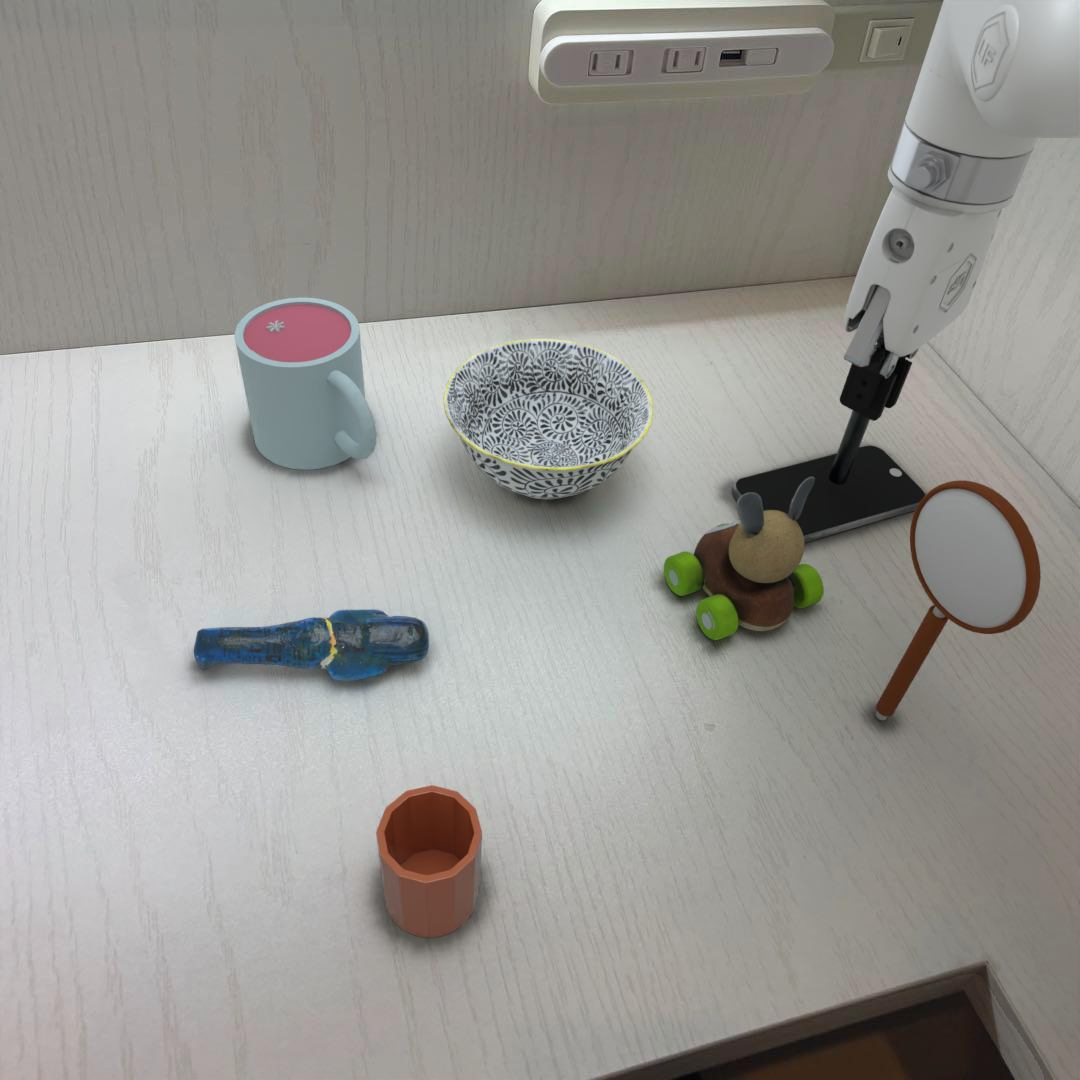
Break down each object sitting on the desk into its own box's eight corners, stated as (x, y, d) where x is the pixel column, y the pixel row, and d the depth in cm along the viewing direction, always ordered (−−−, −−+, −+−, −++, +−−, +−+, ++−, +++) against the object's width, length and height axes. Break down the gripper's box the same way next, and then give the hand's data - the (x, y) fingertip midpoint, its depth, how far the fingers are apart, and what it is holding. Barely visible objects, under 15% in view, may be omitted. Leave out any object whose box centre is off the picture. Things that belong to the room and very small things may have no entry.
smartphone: (934, 499, 79) (779, 544, 74) (931, 506, 79) (777, 551, 74) (876, 441, 83) (727, 480, 78) (873, 447, 84) (725, 486, 79)
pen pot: (497, 891, 55) (501, 832, 49) (428, 958, 52) (425, 903, 47) (435, 830, 57) (433, 768, 52) (365, 890, 54) (356, 831, 49)
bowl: (426, 527, 74) (424, 452, 69) (462, 399, 85) (463, 326, 80) (635, 553, 73) (649, 480, 68) (643, 421, 84) (656, 350, 79)
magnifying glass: (831, 671, 67) (935, 452, 52) (852, 664, 67) (960, 445, 53) (910, 775, 61) (1050, 563, 47) (932, 767, 62) (1077, 554, 48)
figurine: (197, 693, 63) (428, 687, 65) (185, 676, 60) (430, 669, 62) (202, 624, 65) (427, 621, 67) (192, 604, 62) (428, 600, 64)
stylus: (849, 479, 77) (903, 341, 68) (840, 487, 76) (893, 348, 67) (834, 470, 78) (885, 332, 69) (824, 478, 77) (874, 340, 68)
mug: (233, 426, 81) (211, 324, 73) (327, 385, 85) (316, 284, 78) (326, 517, 74) (312, 415, 67) (423, 467, 79) (420, 366, 71)
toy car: (754, 536, 75) (790, 425, 67) (824, 616, 70) (872, 506, 62) (654, 570, 72) (679, 458, 64) (720, 657, 67) (756, 547, 59)
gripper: (955, 225, 53) (856, 477, 66) (1068, 148, 61) (960, 385, 74) (836, 176, 56) (765, 425, 69) (959, 110, 65) (874, 343, 78)
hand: (866, 403), depth 72 cm, fingers closed on stylus, 1 cm apart
